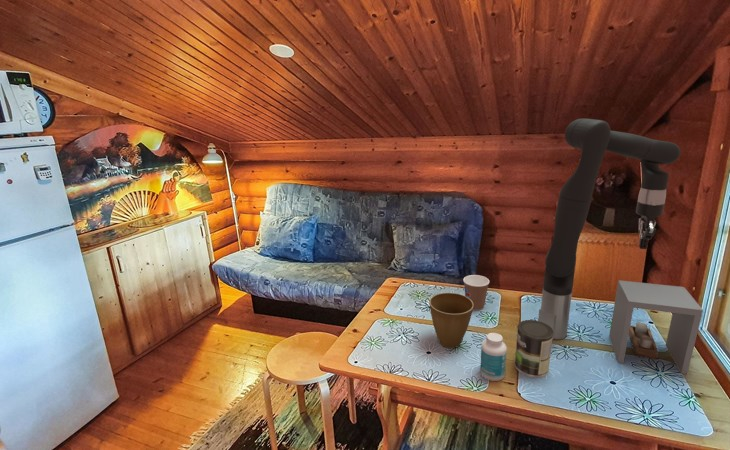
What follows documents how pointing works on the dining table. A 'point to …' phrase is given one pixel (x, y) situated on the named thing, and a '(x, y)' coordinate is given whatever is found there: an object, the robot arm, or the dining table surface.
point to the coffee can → (533, 348)
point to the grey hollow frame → (659, 300)
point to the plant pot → (450, 317)
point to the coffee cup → (476, 290)
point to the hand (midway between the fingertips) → (642, 248)
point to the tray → (640, 349)
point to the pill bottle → (493, 357)
